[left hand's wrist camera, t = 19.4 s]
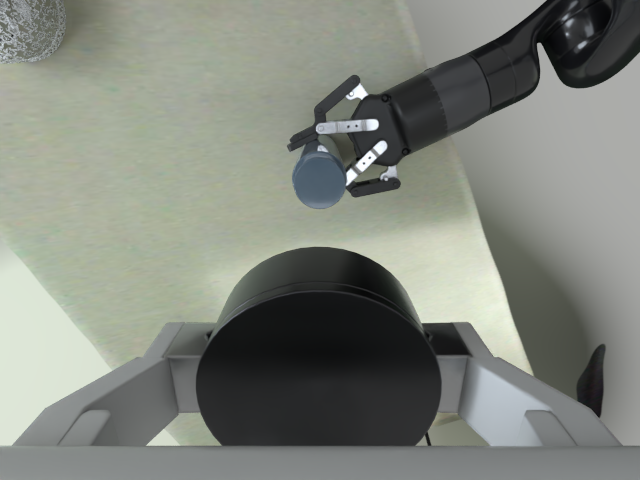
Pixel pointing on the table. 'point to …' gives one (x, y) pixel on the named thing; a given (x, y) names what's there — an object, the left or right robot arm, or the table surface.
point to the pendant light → (1, 6)
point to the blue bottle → (319, 173)
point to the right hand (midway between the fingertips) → (300, 169)
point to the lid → (318, 357)
